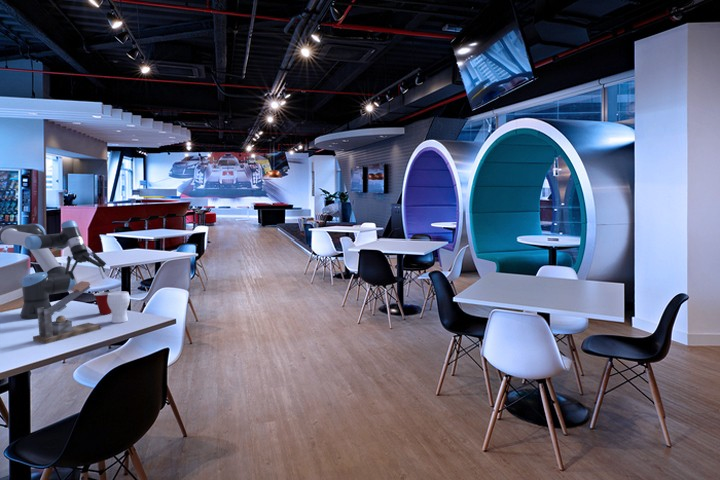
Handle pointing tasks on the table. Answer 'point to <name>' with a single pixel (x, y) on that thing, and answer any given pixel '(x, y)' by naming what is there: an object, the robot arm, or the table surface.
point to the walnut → (60, 319)
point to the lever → (70, 296)
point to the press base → (70, 334)
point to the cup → (118, 305)
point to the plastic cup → (103, 303)
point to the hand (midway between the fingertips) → (91, 281)
